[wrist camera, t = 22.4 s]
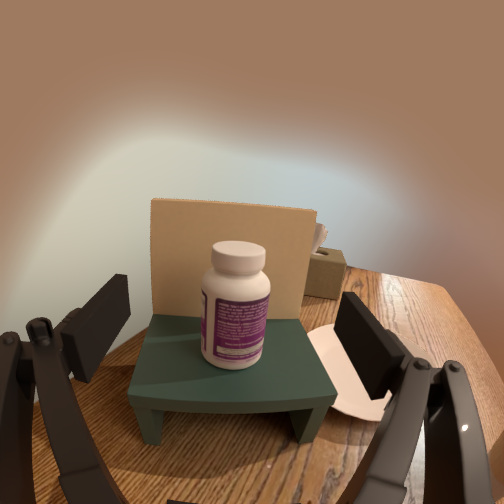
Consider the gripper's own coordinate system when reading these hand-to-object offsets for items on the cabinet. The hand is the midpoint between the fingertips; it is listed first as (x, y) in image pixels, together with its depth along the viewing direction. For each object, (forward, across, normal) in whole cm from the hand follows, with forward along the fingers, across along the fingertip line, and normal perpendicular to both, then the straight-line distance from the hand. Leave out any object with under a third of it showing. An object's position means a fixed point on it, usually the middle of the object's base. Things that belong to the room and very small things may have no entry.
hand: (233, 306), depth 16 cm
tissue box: (+40, +14, -16) cm, 45 cm away
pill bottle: (+5, 0, -8) cm, 9 cm away
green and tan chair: (+5, 0, -16) cm, 16 cm away
